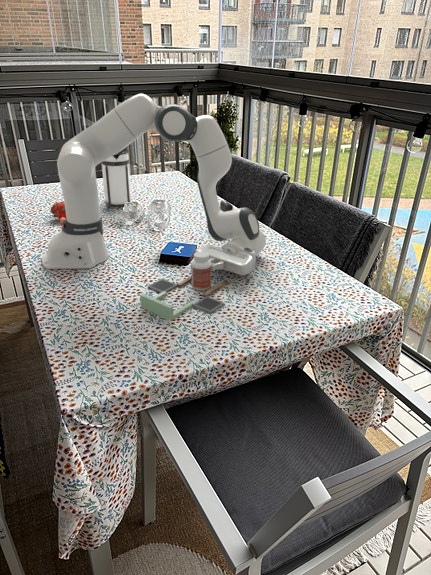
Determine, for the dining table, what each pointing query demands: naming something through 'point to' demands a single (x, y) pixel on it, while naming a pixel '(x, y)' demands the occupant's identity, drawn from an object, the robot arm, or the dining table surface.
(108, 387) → the dining table surface
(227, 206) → the phone stand
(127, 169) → the coffee press
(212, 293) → the walnut track
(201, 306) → the trap pits
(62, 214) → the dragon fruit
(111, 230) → the dining table surface
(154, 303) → the light green u-shaped piece
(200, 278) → the pill bottle
